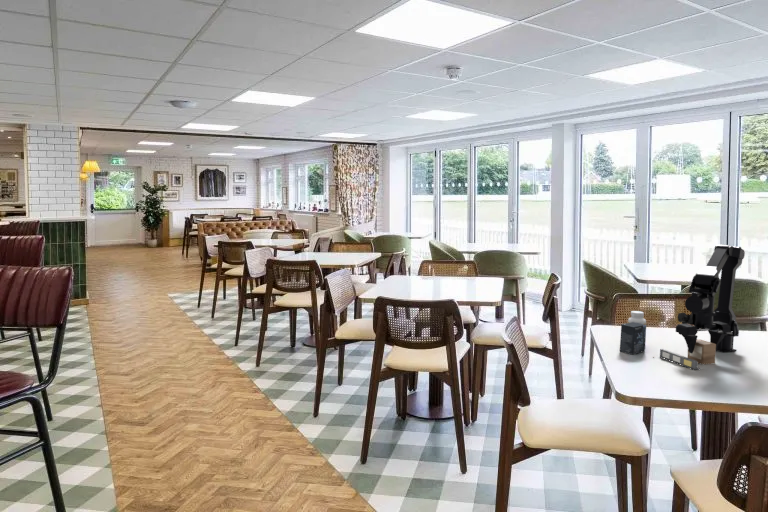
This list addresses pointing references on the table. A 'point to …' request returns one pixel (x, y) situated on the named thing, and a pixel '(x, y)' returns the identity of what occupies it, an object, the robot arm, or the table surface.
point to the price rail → (679, 359)
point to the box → (633, 338)
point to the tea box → (703, 352)
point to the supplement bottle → (637, 317)
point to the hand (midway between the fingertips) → (701, 352)
